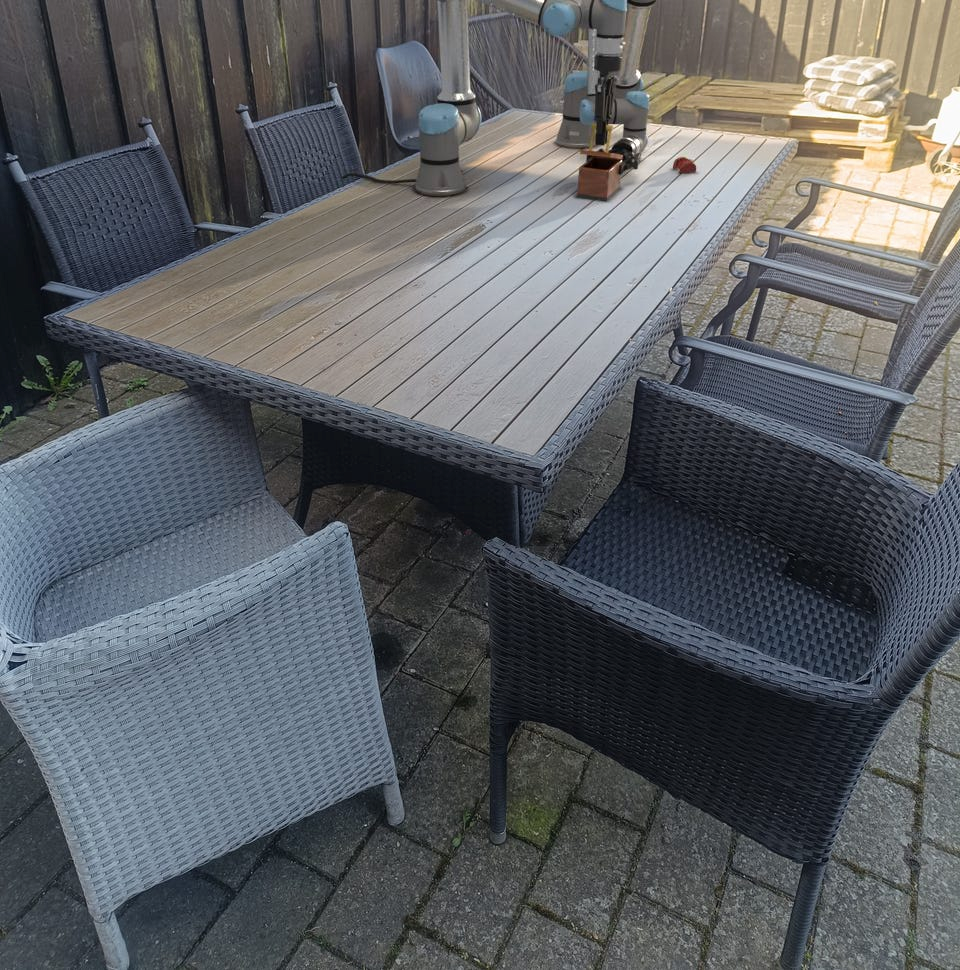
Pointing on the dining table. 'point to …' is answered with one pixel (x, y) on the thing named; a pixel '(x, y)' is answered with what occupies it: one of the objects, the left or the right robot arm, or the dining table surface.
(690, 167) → the dental model
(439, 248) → the dining table surface
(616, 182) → the chest
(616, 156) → the lid
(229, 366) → the dining table surface
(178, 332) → the dining table surface
